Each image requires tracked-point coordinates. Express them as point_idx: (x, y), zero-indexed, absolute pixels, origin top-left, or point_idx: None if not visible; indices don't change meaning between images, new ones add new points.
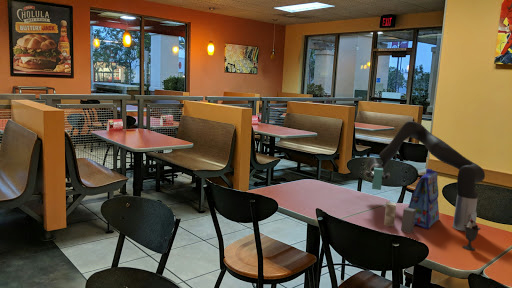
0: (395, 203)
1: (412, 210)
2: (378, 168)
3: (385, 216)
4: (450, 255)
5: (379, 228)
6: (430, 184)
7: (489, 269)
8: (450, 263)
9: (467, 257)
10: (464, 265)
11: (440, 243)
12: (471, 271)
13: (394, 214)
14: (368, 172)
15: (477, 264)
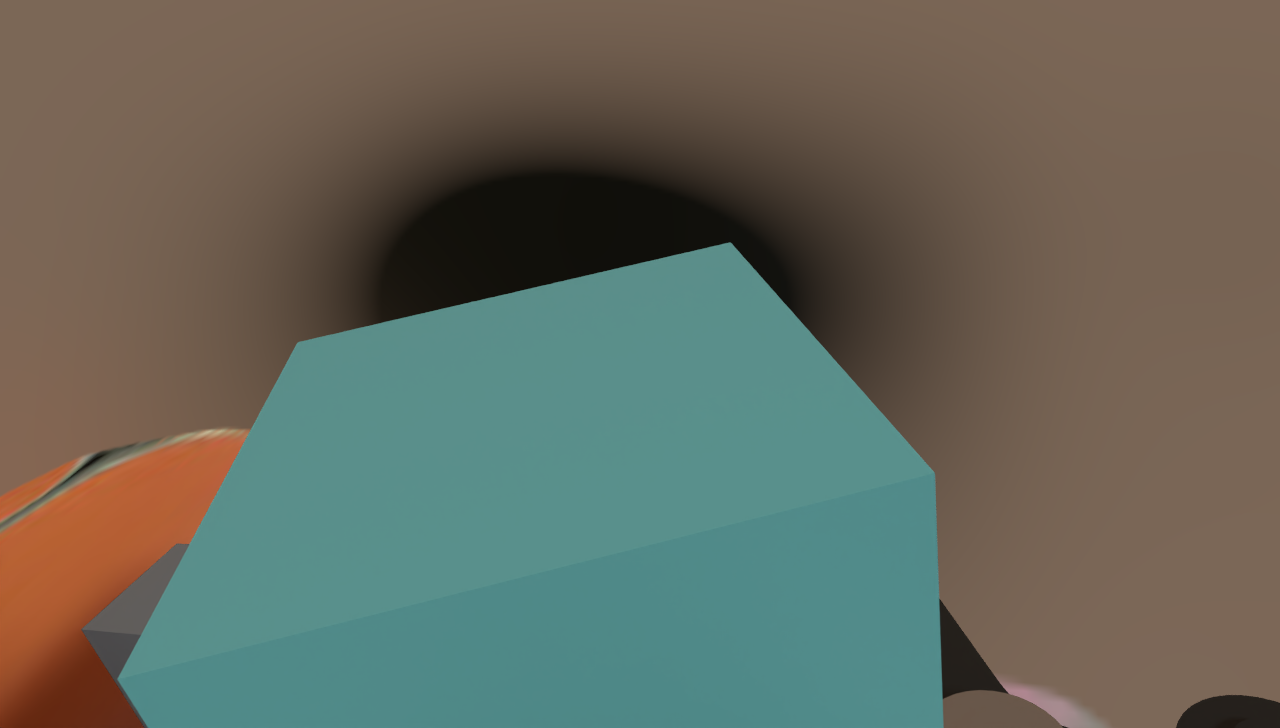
0: None
1: (162, 569)
2: (530, 419)
3: None
4: (139, 533)
5: None
6: None
7: (9, 506)
8: (205, 458)
9: (29, 565)
10: (133, 477)
11: (80, 672)
12: (139, 448)
13: None
14: (1273, 721)
15: (37, 520)
